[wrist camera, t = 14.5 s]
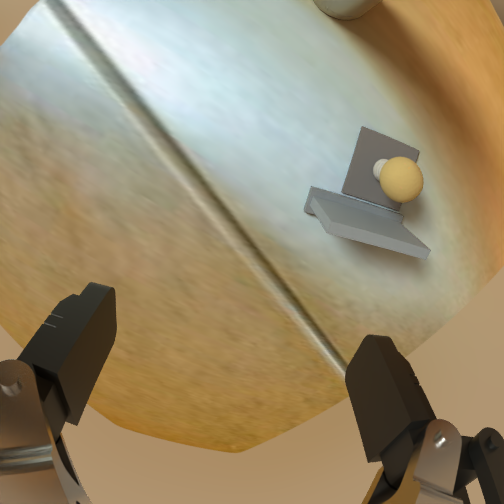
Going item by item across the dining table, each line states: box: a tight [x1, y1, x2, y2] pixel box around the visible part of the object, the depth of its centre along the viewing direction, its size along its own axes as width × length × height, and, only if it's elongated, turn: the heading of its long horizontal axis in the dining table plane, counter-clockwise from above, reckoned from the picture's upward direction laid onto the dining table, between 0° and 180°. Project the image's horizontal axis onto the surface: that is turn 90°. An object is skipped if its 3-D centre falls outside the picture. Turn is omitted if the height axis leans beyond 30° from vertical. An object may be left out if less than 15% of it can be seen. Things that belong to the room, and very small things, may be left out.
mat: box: [341, 126, 419, 211], centre depth 44 cm, size 11×11×1 cm
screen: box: [304, 186, 431, 260], centre depth 41 cm, size 4×17×12 cm, turn 76°
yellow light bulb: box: [373, 157, 423, 203], centre depth 39 cm, size 6×6×10 cm
